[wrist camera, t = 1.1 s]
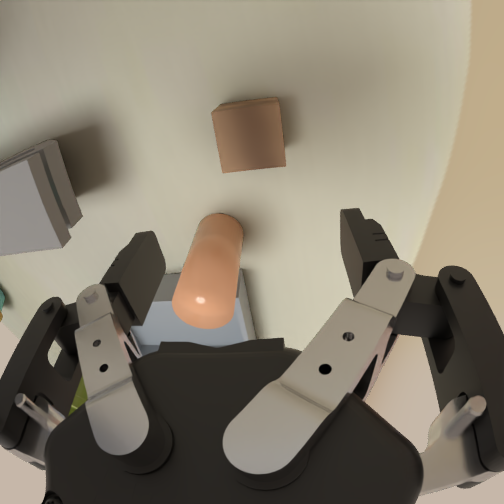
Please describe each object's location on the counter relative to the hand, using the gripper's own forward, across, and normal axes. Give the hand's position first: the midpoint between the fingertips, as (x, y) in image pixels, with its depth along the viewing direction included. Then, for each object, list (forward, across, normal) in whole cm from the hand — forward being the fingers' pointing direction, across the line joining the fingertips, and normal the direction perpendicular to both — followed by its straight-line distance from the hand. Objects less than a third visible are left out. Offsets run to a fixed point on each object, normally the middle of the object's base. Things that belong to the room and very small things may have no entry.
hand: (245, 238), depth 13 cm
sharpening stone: (+16, +28, -2) cm, 33 cm away
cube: (+17, 0, -1) cm, 17 cm away
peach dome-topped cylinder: (+17, +6, +10) cm, 20 cm away
